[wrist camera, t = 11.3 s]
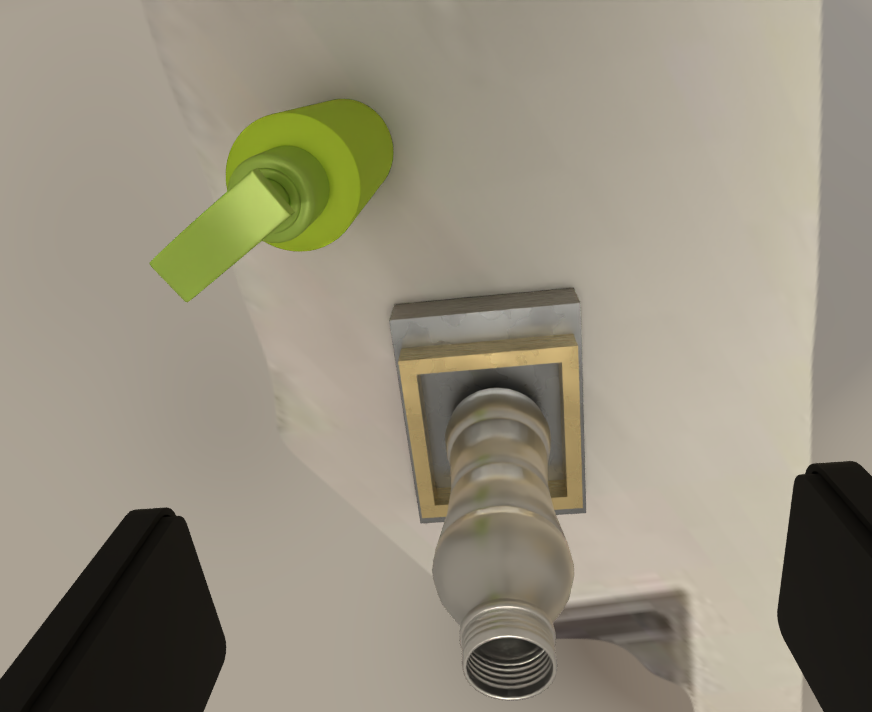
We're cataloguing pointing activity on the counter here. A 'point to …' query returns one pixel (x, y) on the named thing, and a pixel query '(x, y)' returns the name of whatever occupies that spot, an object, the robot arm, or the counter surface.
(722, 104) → the counter surface
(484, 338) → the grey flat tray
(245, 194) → the soap dispenser
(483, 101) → the counter surface
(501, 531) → the plastic bottle
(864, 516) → the robot arm
